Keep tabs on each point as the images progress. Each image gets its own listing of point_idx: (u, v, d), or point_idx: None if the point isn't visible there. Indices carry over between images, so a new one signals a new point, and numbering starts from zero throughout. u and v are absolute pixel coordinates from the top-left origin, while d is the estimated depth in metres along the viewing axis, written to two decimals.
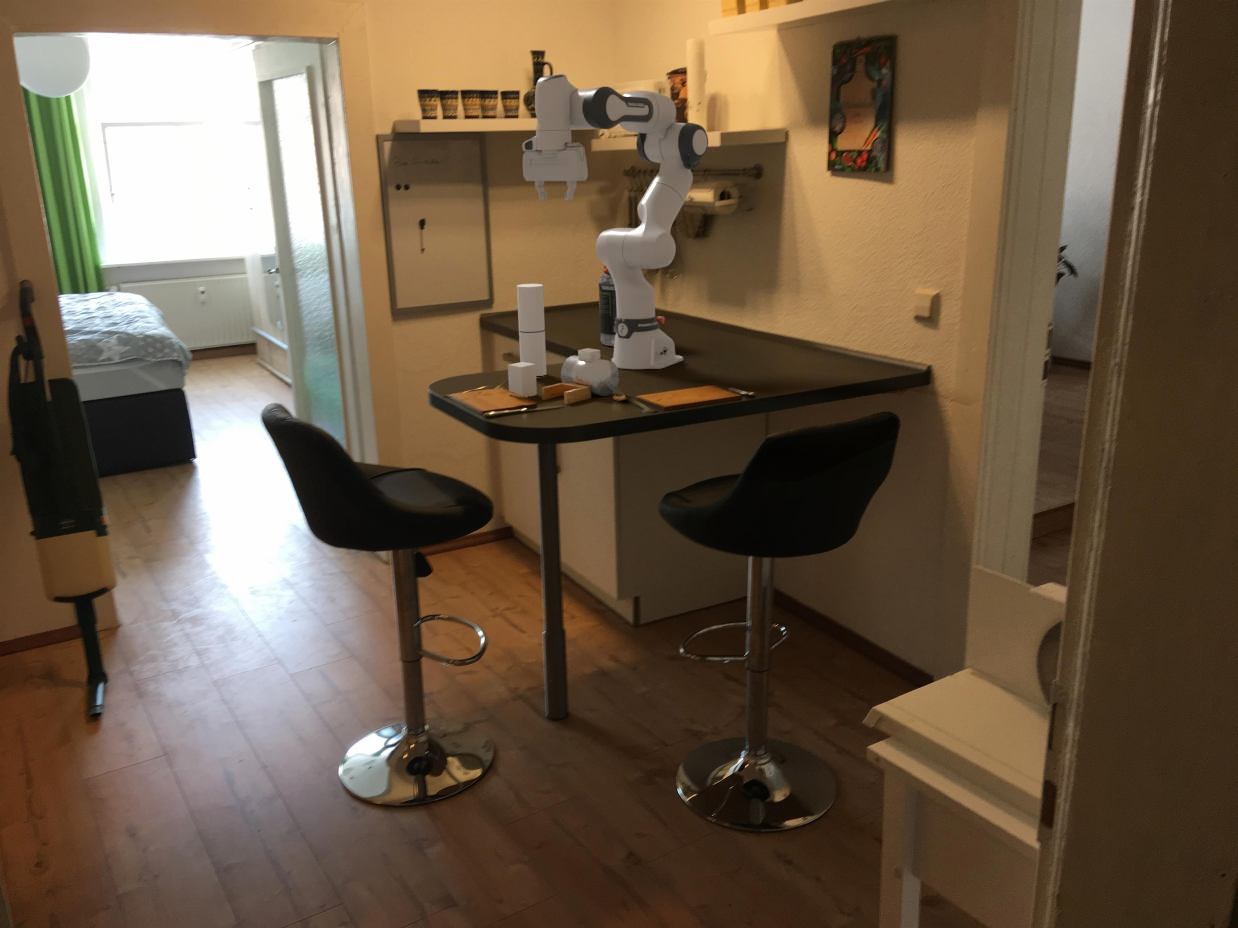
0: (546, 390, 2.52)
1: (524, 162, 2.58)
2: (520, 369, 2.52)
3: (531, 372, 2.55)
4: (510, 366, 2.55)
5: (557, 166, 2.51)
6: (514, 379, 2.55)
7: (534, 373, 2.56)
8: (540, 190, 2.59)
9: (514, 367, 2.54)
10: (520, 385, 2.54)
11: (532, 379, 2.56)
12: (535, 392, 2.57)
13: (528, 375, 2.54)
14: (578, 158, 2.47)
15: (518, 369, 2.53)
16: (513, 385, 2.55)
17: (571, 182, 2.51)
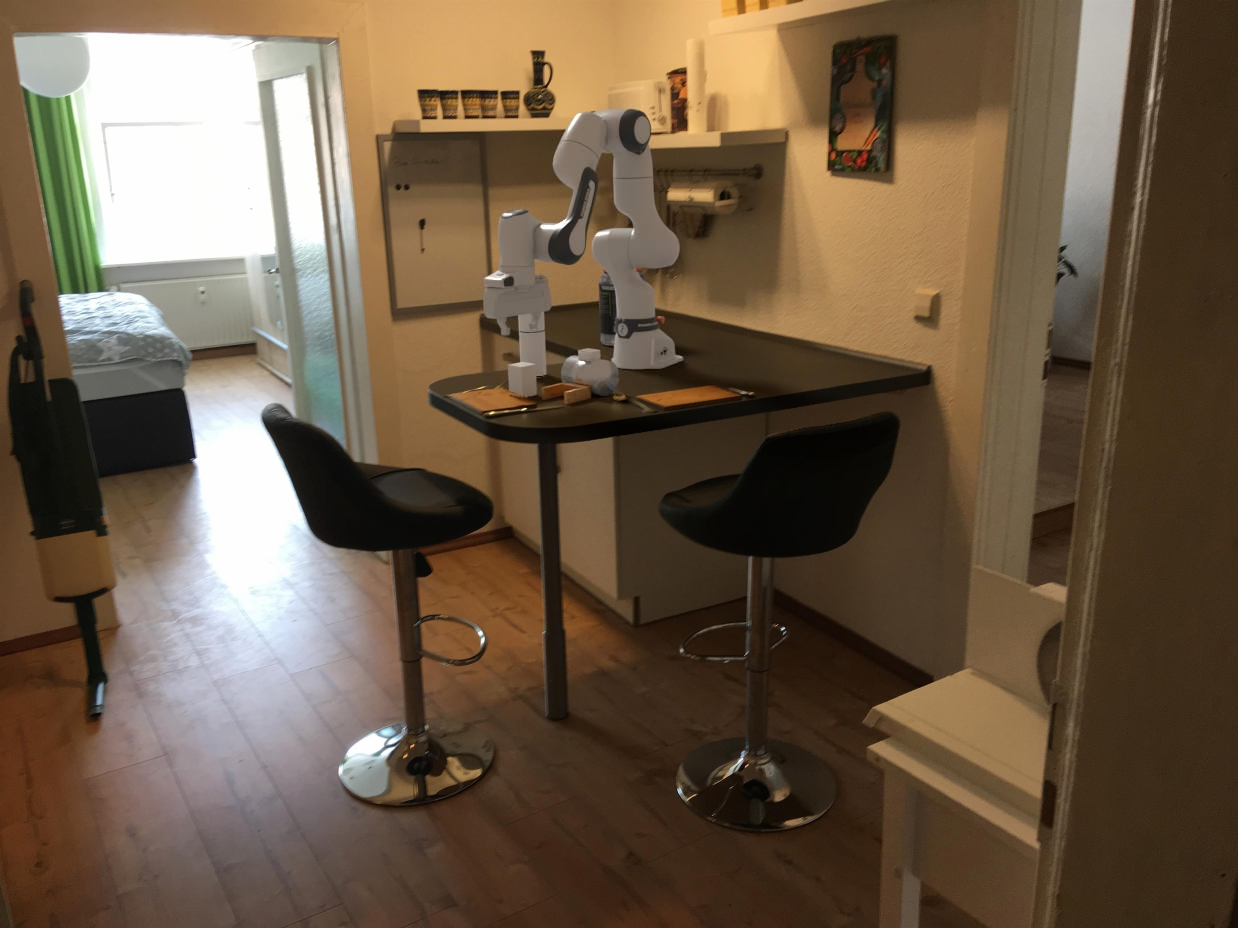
0: (546, 390, 2.52)
1: (497, 299, 2.42)
2: (520, 369, 2.52)
3: (531, 372, 2.55)
4: (510, 366, 2.55)
5: (531, 299, 2.51)
6: (514, 379, 2.55)
7: (534, 373, 2.56)
8: None
9: (514, 367, 2.54)
10: (520, 385, 2.54)
11: (532, 379, 2.56)
12: (535, 392, 2.57)
13: (528, 375, 2.54)
14: None
15: (518, 369, 2.53)
16: (513, 385, 2.55)
17: None
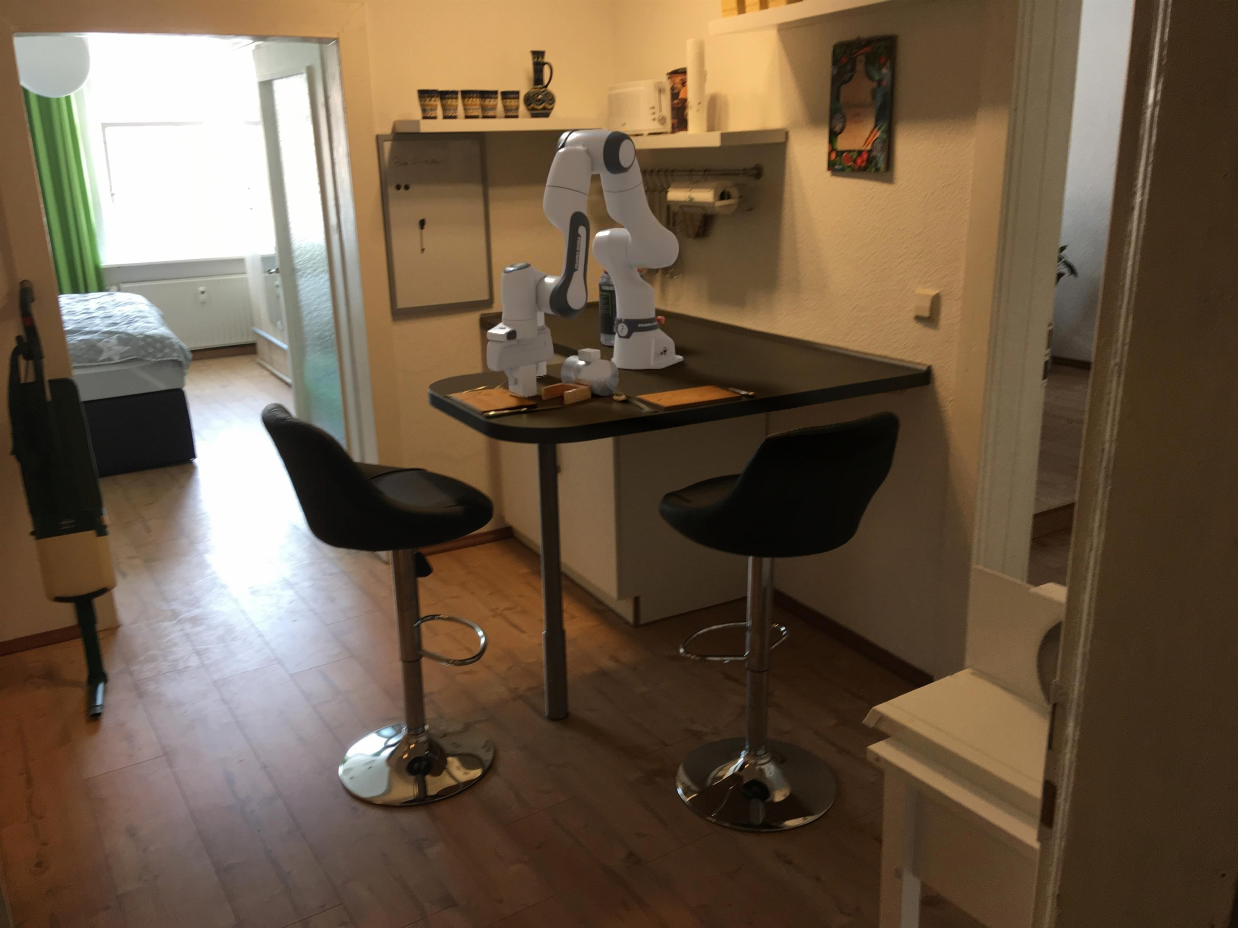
0: (546, 390, 2.52)
1: (500, 353, 2.46)
2: (520, 369, 2.52)
3: (531, 372, 2.55)
4: None
5: (533, 350, 2.55)
6: None
7: (534, 373, 2.56)
8: None
9: None
10: (520, 385, 2.54)
11: (532, 378, 2.56)
12: (535, 392, 2.57)
13: (528, 375, 2.54)
14: None
15: (518, 369, 2.53)
16: None
17: None
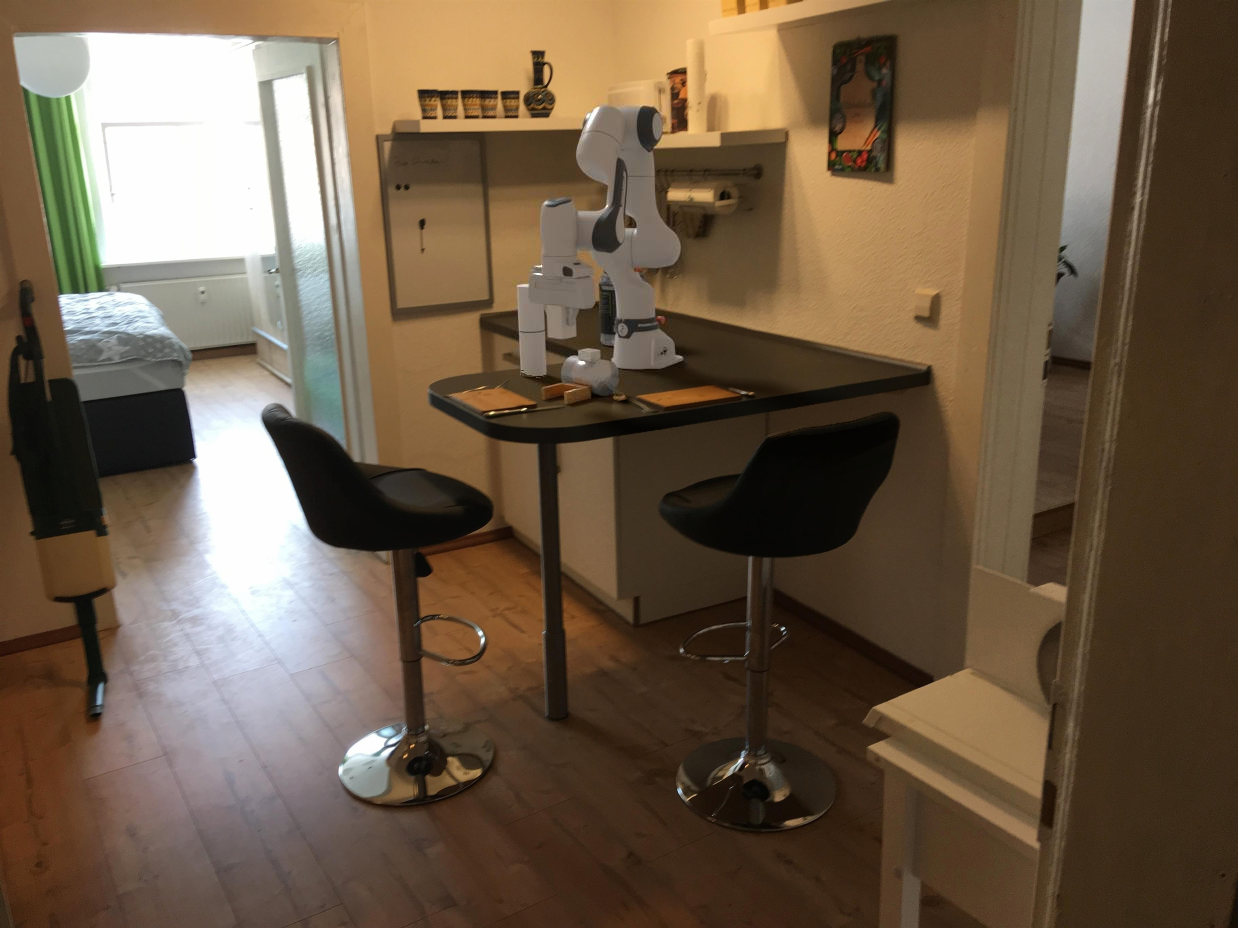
0: (546, 390, 2.52)
1: None
2: None
3: None
4: (563, 307, 2.43)
5: None
6: None
7: None
8: None
9: None
10: None
11: None
12: None
13: None
14: None
15: None
16: (566, 326, 2.45)
17: None
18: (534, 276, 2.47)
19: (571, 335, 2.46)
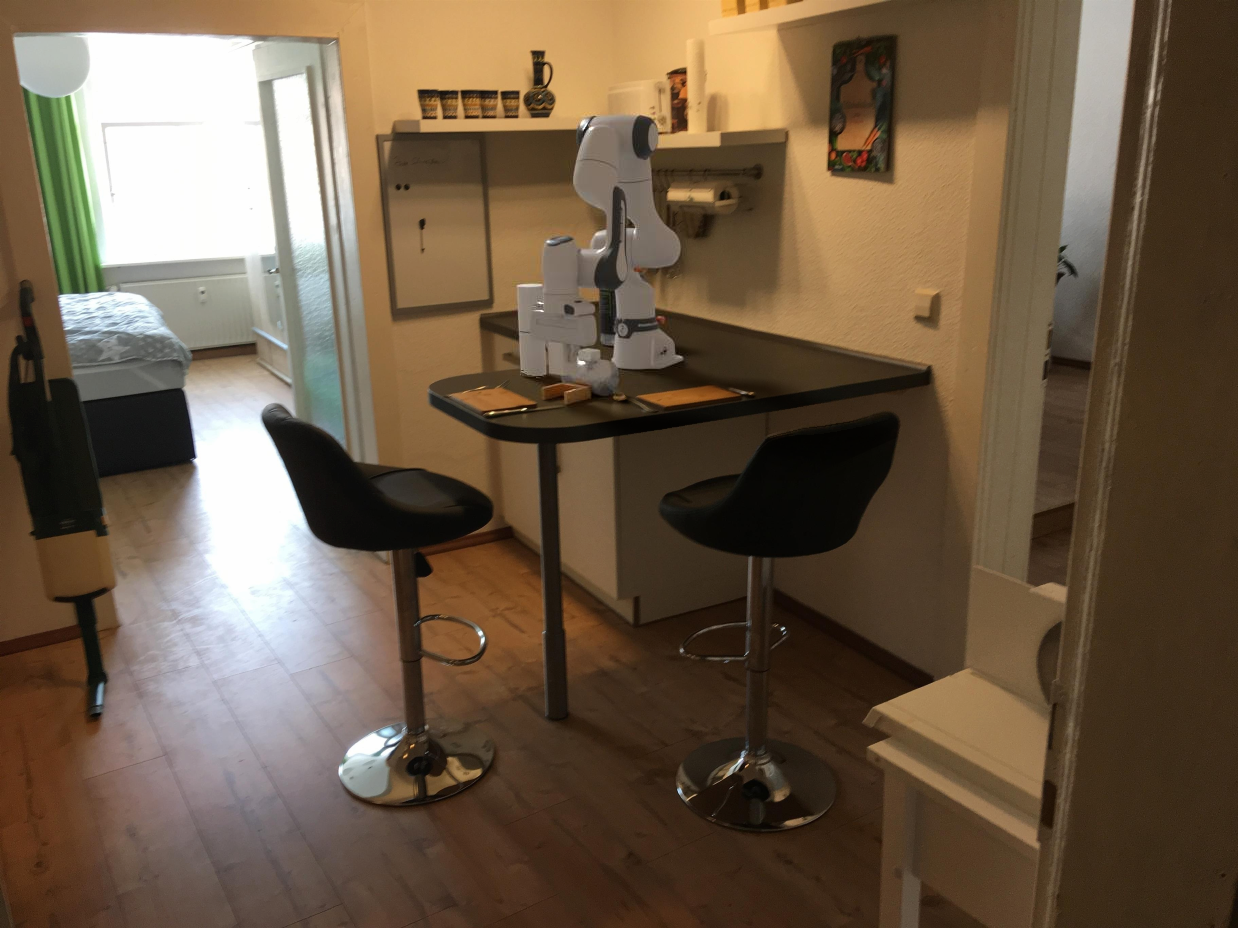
0: (546, 390, 2.52)
1: None
2: None
3: None
4: (565, 344, 2.45)
5: None
6: None
7: None
8: None
9: None
10: None
11: None
12: None
13: None
14: None
15: None
16: (568, 363, 2.47)
17: None
18: (536, 313, 2.49)
19: (572, 371, 2.49)
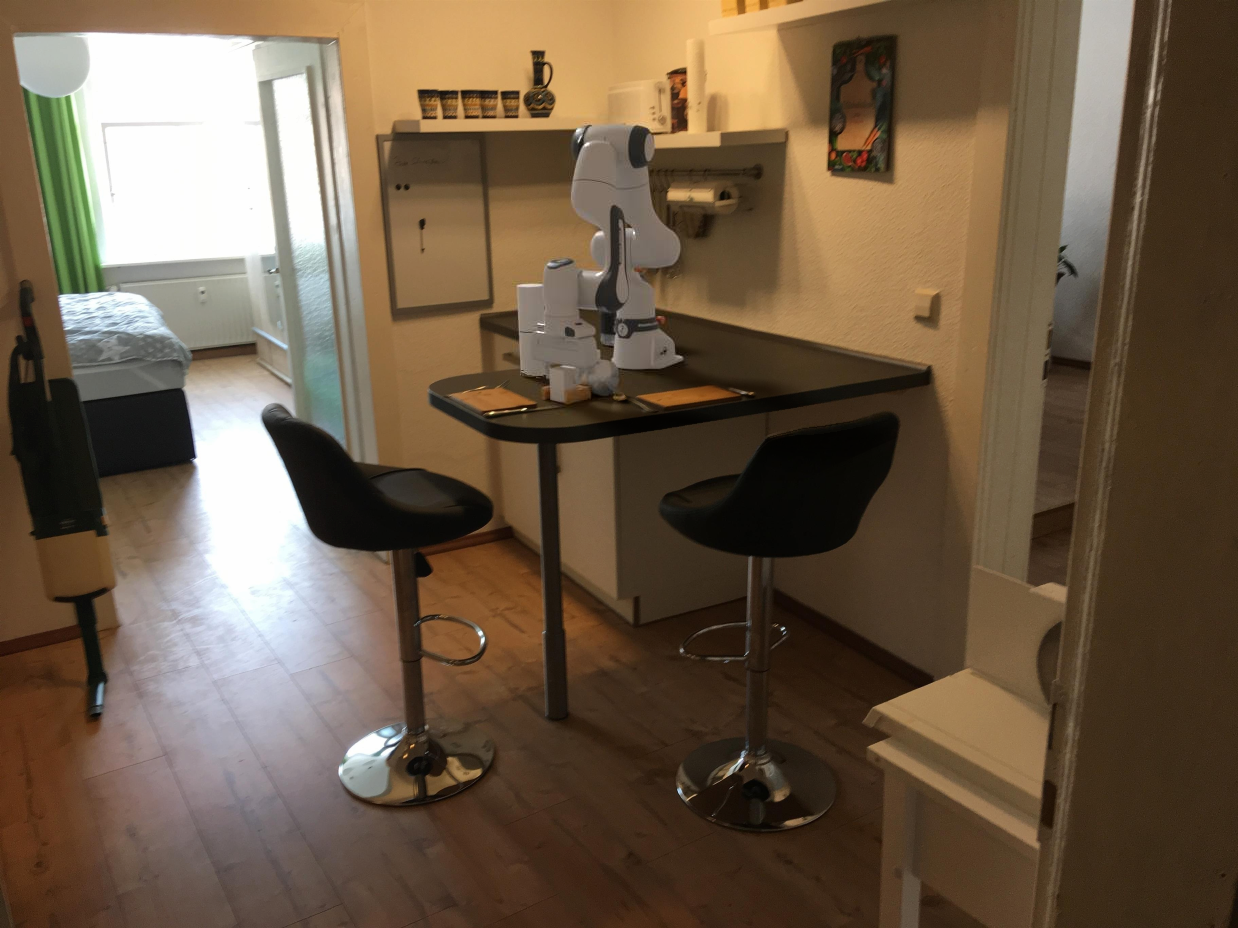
0: (546, 390, 2.52)
1: None
2: None
3: None
4: (566, 371, 2.47)
5: None
6: (570, 383, 2.49)
7: None
8: None
9: (570, 370, 2.48)
10: (576, 387, 2.51)
11: None
12: None
13: None
14: None
15: (574, 371, 2.49)
16: (569, 390, 2.49)
17: None
18: (537, 334, 2.51)
19: None
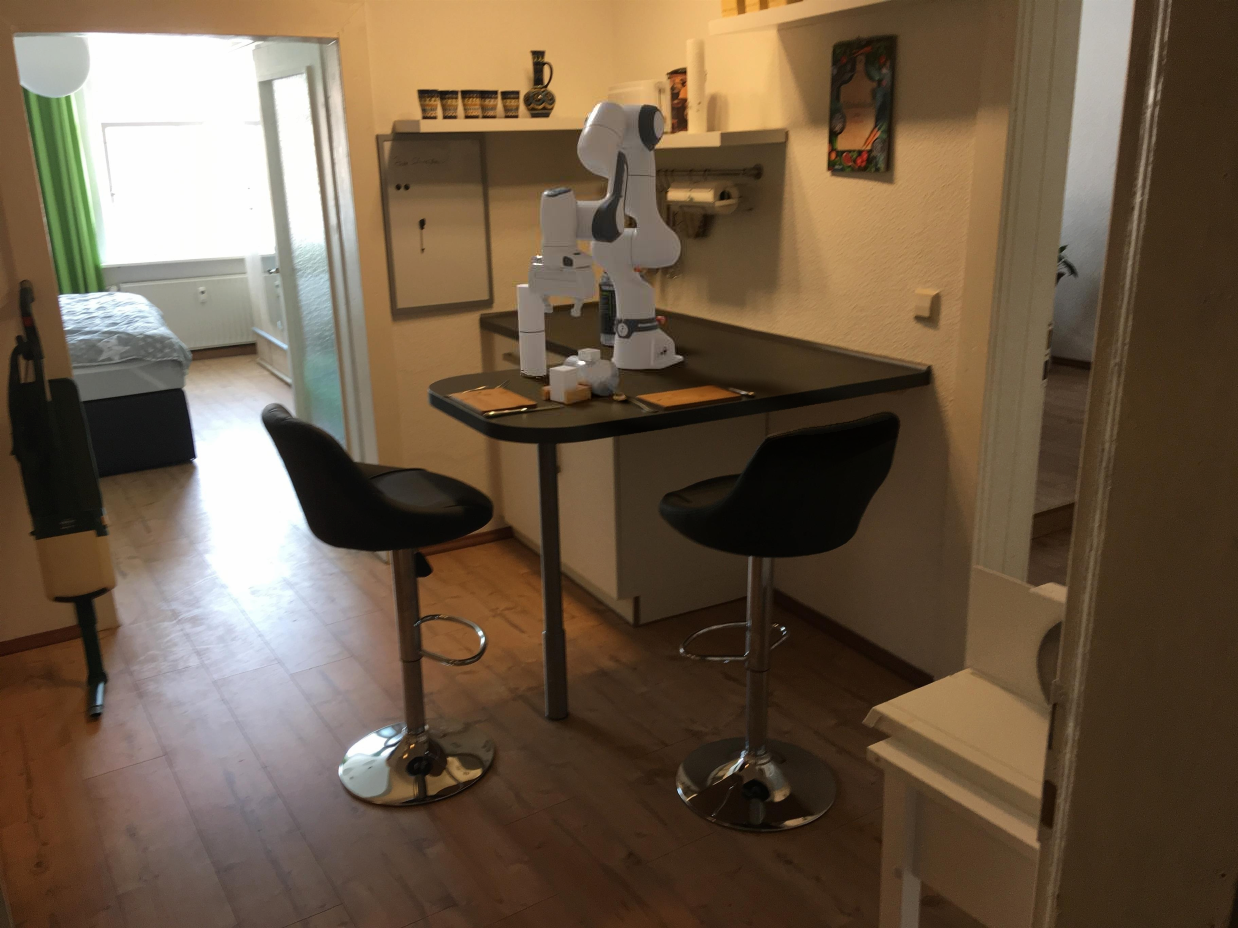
0: (546, 390, 2.52)
1: None
2: (576, 370, 2.50)
3: None
4: (566, 371, 2.47)
5: None
6: (570, 383, 2.49)
7: None
8: None
9: (570, 370, 2.48)
10: (576, 387, 2.51)
11: None
12: None
13: None
14: None
15: (574, 371, 2.49)
16: (569, 390, 2.49)
17: None
18: (534, 266, 2.46)
19: None
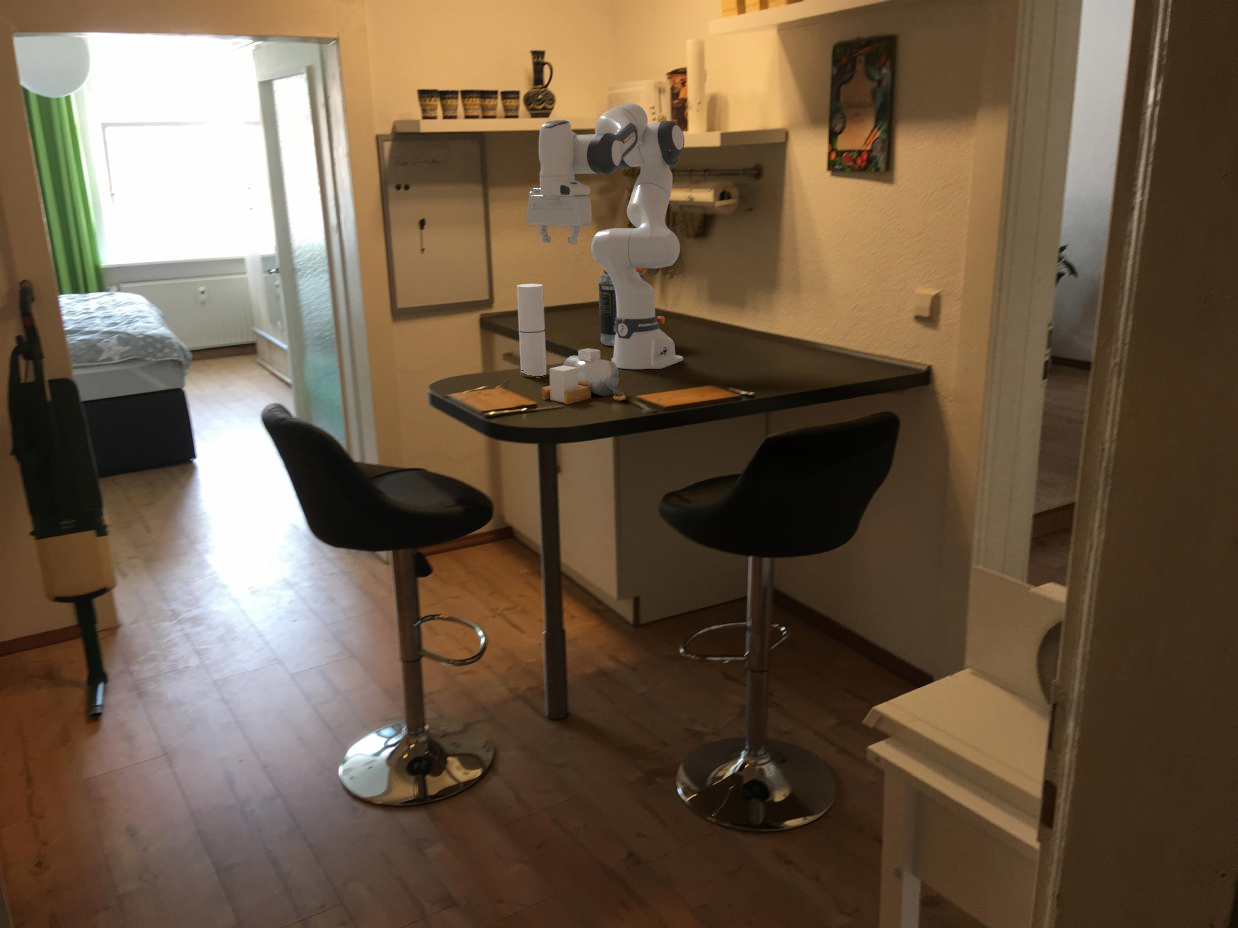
0: (546, 390, 2.52)
1: None
2: (576, 370, 2.50)
3: None
4: (566, 371, 2.47)
5: None
6: (570, 383, 2.49)
7: None
8: None
9: (570, 370, 2.48)
10: (576, 387, 2.51)
11: None
12: None
13: None
14: None
15: (574, 371, 2.49)
16: (569, 390, 2.49)
17: None
18: (533, 198, 2.57)
19: None
